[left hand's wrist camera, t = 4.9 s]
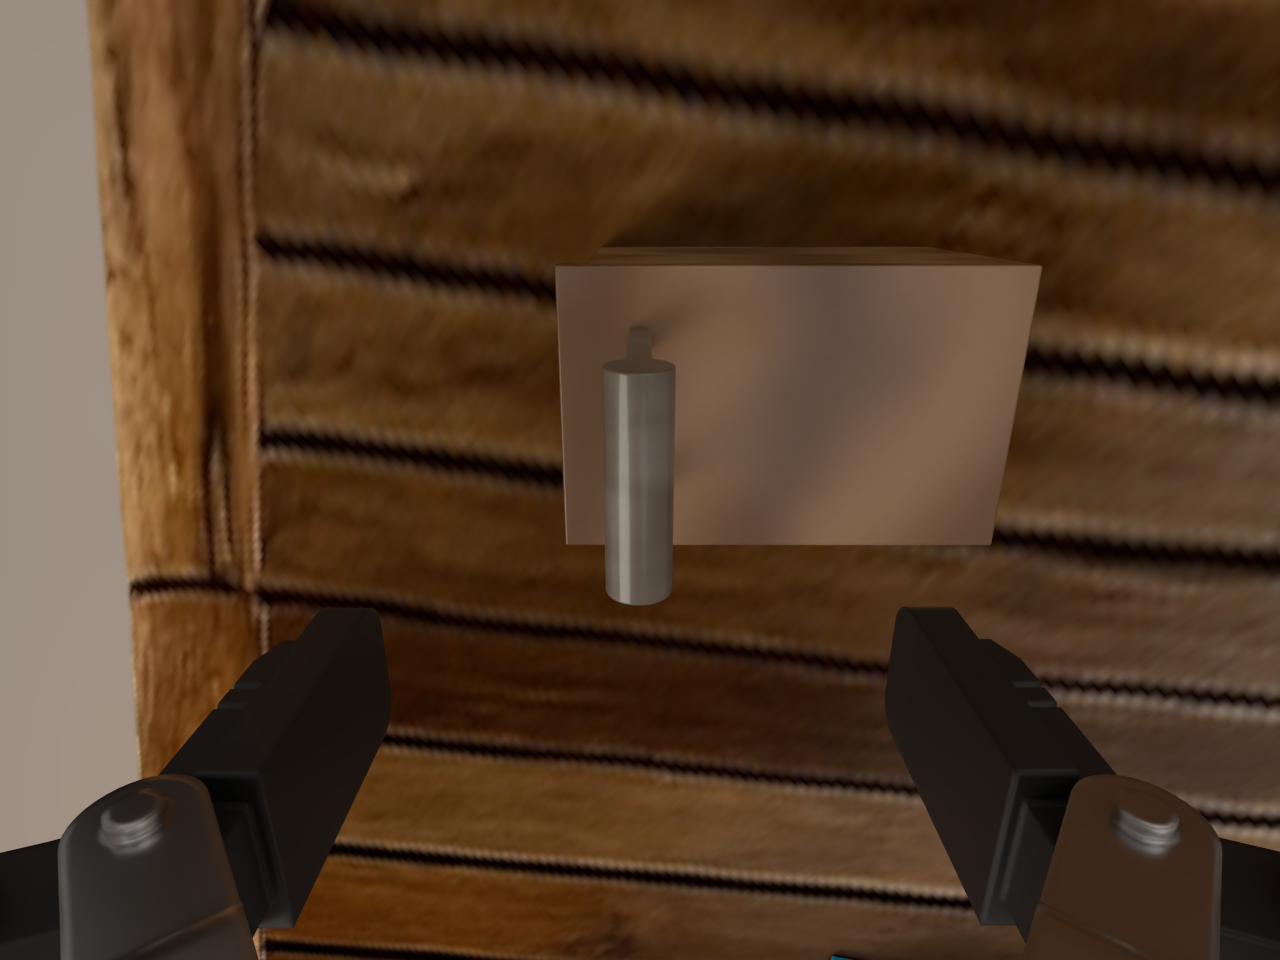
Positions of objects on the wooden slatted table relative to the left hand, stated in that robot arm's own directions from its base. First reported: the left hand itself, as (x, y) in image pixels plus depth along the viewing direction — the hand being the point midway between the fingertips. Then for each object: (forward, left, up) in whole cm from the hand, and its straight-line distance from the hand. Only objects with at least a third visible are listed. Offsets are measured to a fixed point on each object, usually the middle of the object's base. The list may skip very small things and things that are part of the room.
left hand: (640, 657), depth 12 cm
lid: (-1, +5, -15) cm, 15 cm away
